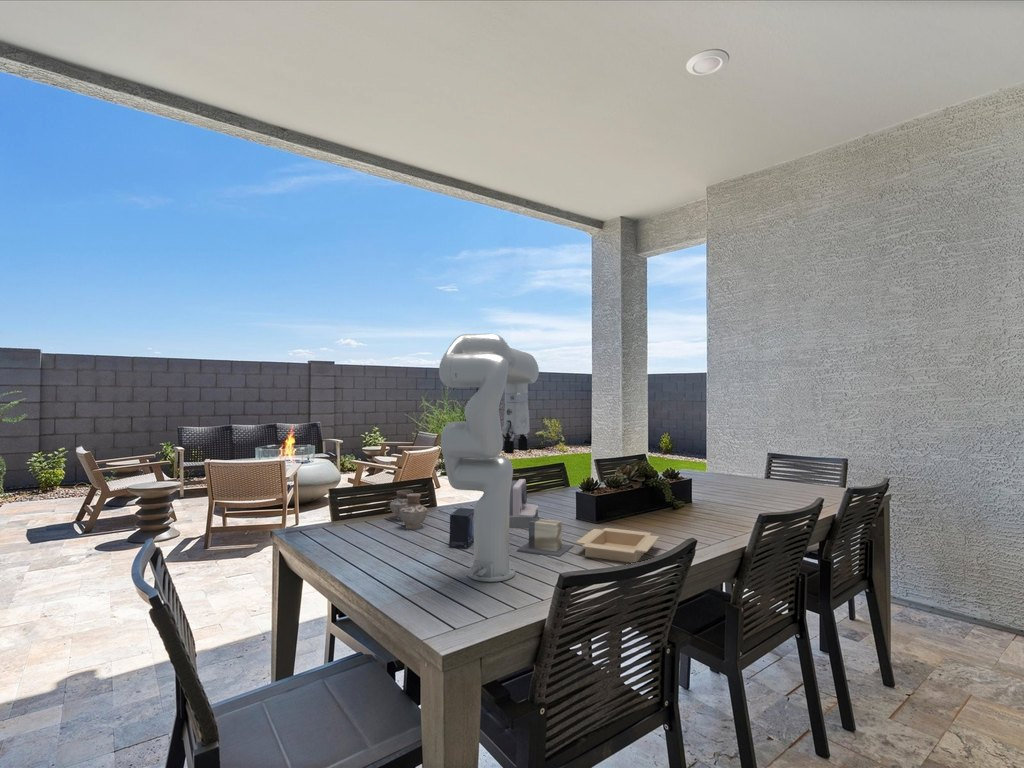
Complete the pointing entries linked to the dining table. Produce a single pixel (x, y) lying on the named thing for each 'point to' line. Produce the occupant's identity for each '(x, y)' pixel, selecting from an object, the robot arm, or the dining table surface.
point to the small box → (461, 528)
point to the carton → (617, 544)
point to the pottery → (409, 509)
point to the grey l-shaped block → (520, 506)
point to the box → (545, 534)
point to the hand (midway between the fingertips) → (516, 452)
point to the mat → (545, 552)
